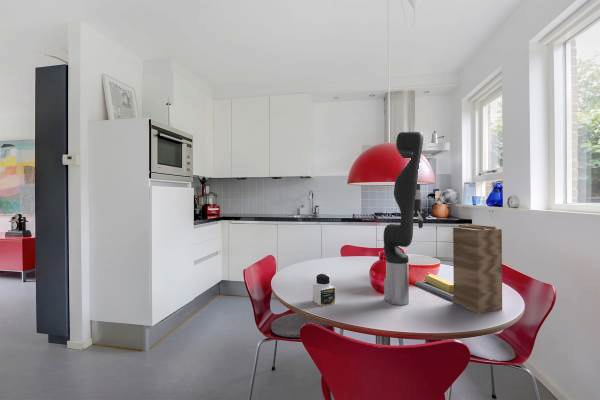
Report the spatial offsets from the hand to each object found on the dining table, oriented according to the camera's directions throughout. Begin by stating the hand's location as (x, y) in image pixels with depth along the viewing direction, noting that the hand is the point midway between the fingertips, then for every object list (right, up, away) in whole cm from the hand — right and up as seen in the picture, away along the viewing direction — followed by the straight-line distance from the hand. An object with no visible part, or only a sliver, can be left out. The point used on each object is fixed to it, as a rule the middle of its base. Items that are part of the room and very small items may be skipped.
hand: (413, 228), depth 156 cm
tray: (+6, -28, -20) cm, 35 cm away
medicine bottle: (-52, -29, -33) cm, 68 cm away
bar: (+5, -26, -16) cm, 31 cm away
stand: (+11, -28, -39) cm, 49 cm away
